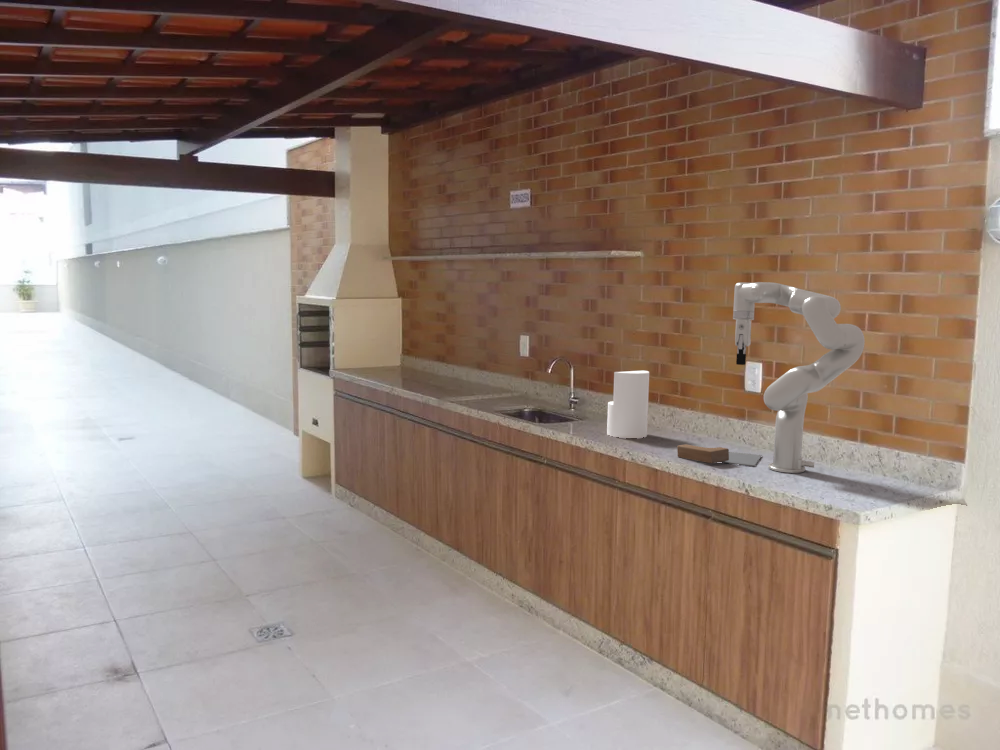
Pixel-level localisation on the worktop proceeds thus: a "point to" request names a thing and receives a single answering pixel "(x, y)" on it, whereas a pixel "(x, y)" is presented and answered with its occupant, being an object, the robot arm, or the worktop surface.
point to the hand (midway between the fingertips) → (740, 364)
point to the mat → (743, 459)
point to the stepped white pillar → (629, 405)
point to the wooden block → (703, 453)
